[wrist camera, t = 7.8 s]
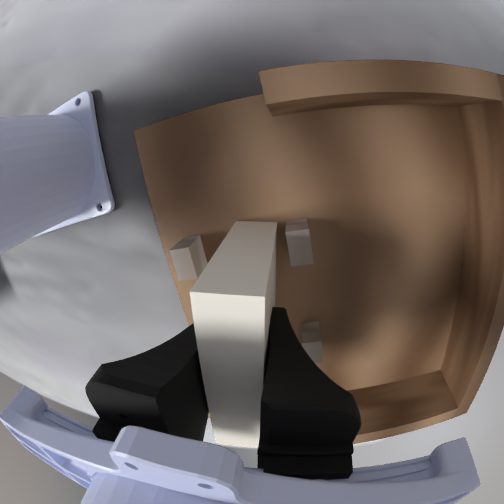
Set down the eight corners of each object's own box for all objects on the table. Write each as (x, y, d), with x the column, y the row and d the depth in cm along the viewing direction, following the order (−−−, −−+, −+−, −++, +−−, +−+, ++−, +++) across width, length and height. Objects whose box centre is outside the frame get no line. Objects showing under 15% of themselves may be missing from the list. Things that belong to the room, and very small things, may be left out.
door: (227, 346, 17) (198, 440, 10) (220, 220, 14) (162, 289, 7) (272, 350, 16) (260, 448, 10) (277, 222, 14) (265, 296, 7)
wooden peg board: (226, 397, 21) (213, 449, 16) (144, 130, 14) (85, 131, 9) (444, 366, 17) (466, 412, 12) (456, 88, 10) (512, 77, 6)
